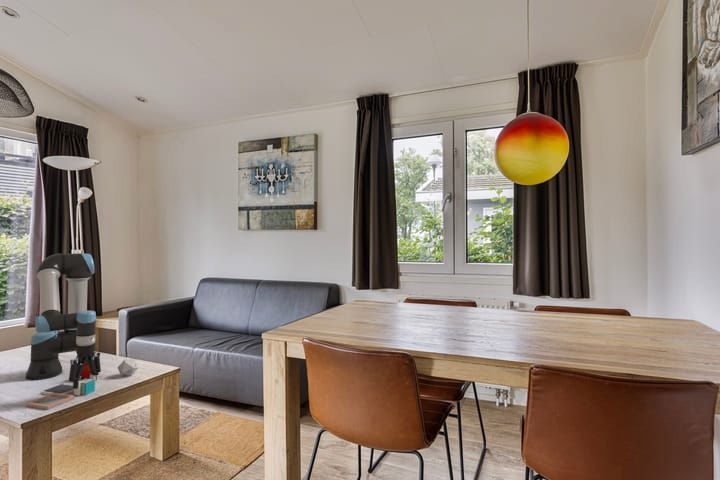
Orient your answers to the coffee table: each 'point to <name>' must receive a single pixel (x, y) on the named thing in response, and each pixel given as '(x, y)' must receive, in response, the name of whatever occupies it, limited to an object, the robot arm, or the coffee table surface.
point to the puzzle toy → (87, 386)
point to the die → (127, 367)
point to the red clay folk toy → (85, 372)
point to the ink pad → (59, 389)
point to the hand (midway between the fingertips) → (85, 391)
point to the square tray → (50, 401)
